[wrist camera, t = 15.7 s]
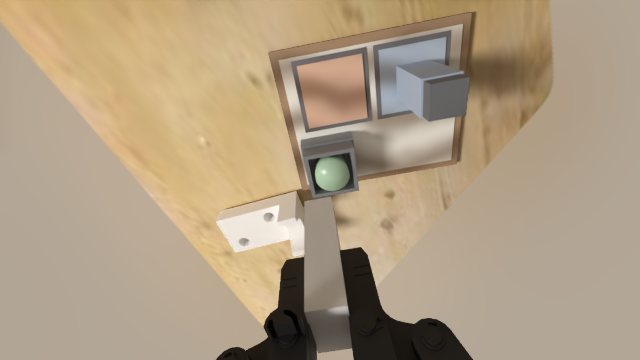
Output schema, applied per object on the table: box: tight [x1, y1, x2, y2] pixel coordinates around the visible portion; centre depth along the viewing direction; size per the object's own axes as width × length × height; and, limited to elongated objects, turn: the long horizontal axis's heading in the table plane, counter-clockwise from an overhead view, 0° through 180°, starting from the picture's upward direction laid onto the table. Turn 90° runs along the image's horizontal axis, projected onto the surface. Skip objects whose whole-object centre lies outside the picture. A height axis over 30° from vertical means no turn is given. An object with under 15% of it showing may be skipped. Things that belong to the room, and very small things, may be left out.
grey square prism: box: [396, 60, 470, 122], centre depth 30 cm, size 4×4×10 cm
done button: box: [315, 154, 350, 191], centre depth 36 cm, size 4×4×3 cm
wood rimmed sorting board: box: [268, 12, 472, 191], centre depth 37 cm, size 20×24×1 cm
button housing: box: [301, 131, 359, 198], centre depth 37 cm, size 7×7×5 cm
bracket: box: [216, 191, 304, 257], centre depth 43 cm, size 13×7×8 cm, turn 106°
